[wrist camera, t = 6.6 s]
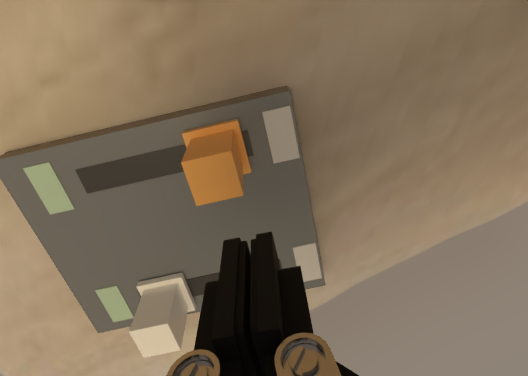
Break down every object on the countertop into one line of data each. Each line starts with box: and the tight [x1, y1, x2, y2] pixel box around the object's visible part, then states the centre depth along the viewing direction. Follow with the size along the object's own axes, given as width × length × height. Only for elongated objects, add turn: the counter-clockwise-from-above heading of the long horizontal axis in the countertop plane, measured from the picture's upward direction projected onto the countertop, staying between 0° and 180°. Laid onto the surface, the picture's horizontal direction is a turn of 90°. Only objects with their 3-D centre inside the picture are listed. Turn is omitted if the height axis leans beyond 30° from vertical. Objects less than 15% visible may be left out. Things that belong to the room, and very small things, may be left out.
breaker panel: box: [0, 86, 325, 333], centre depth 29 cm, size 22×18×2 cm
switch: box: [129, 273, 196, 358], centre depth 28 cm, size 4×4×5 cm
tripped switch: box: [181, 119, 251, 206], centre depth 23 cm, size 4×4×5 cm
